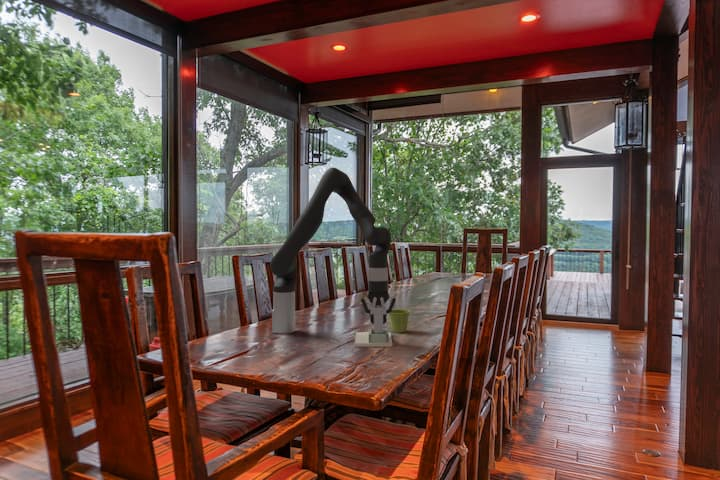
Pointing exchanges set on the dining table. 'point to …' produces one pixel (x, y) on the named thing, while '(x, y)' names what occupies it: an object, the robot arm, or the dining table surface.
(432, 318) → the dining table surface
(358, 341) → the beige rectangular tray
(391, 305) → the robot arm
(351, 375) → the dining table surface
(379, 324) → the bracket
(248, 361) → the dining table surface
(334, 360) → the dining table surface
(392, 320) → the plant pot
